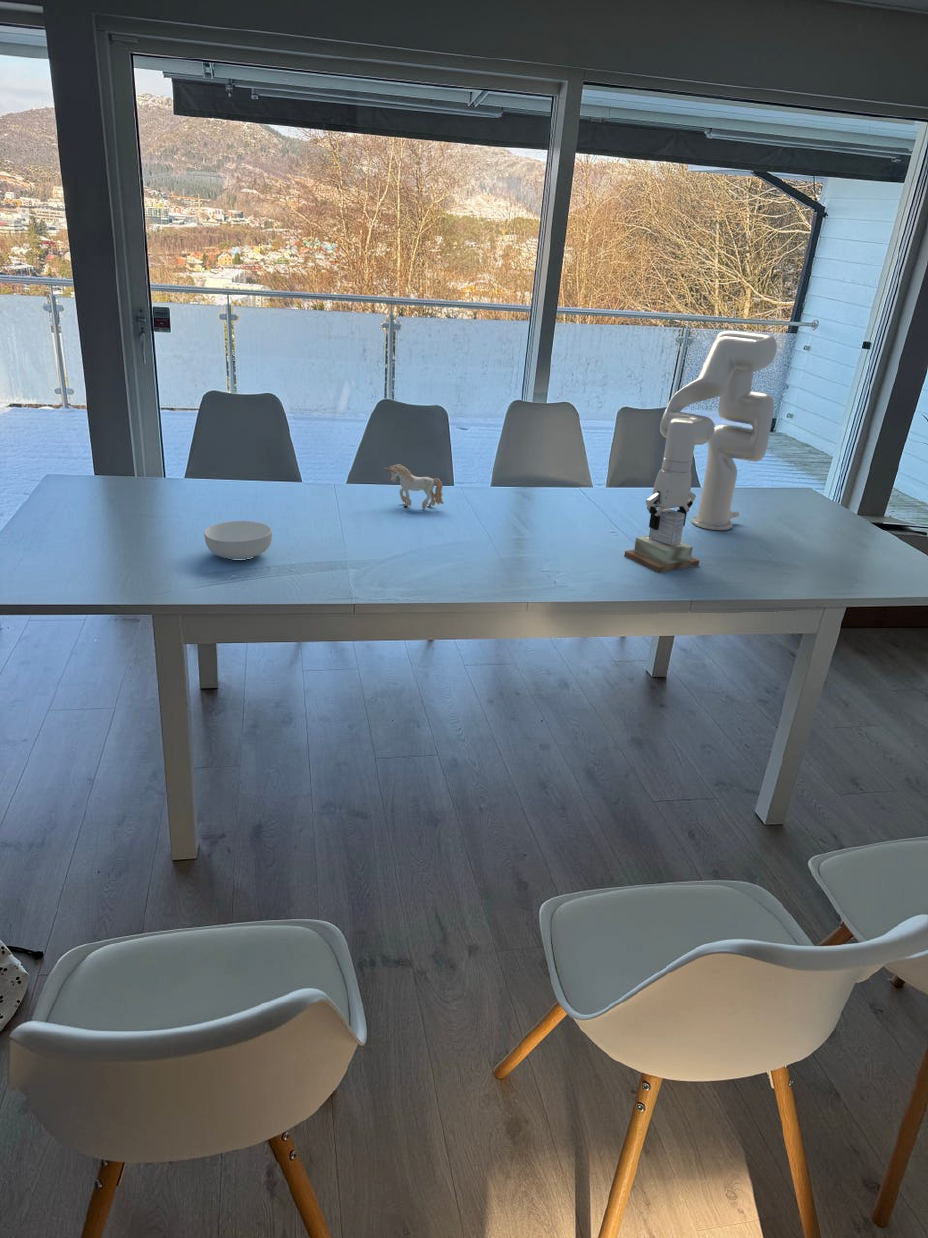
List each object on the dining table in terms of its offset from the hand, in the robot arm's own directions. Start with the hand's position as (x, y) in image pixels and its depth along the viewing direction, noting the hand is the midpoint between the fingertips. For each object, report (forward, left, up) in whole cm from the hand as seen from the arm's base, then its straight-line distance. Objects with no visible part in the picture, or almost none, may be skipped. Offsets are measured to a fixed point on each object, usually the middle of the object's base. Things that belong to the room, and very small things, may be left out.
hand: (666, 526), depth 243 cm
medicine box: (0, 0, -4) cm, 4 cm away
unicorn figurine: (+43, -67, -10) cm, 80 cm away
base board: (0, 0, -10) cm, 10 cm away
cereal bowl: (+105, -46, -10) cm, 115 cm away
